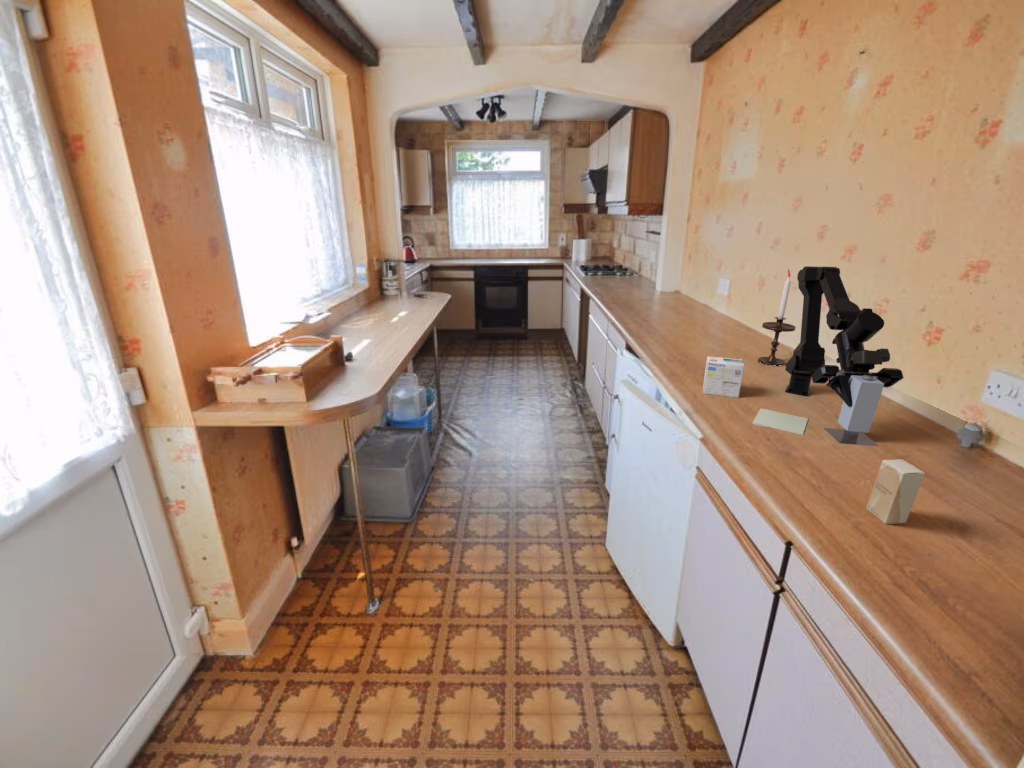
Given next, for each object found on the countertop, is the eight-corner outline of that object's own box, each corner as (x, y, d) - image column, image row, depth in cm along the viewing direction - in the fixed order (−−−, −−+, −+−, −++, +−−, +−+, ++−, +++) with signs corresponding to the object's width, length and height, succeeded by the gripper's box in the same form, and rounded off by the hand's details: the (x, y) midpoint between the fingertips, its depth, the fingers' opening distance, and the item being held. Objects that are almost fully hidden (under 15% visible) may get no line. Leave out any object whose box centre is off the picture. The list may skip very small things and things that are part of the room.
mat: (760, 410, 140) (760, 408, 140) (807, 420, 134) (808, 418, 134) (752, 424, 131) (752, 422, 131) (802, 436, 125) (803, 433, 124)
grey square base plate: (822, 429, 129) (826, 417, 128) (859, 431, 128) (863, 419, 126) (839, 444, 120) (842, 432, 119) (878, 447, 119) (882, 435, 118)
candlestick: (751, 362, 183) (770, 268, 171) (760, 356, 191) (778, 265, 179) (783, 368, 177) (804, 271, 165) (790, 362, 184) (811, 268, 172)
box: (864, 508, 95) (880, 458, 91) (885, 507, 95) (901, 457, 91) (886, 525, 90) (904, 473, 86) (908, 524, 90) (926, 472, 86)
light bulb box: (737, 391, 155) (743, 358, 151) (739, 398, 149) (745, 365, 145) (701, 386, 158) (706, 355, 154) (702, 393, 152) (707, 361, 148)
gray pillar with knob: (837, 422, 126) (852, 372, 120) (858, 423, 125) (873, 373, 120) (847, 430, 121) (862, 379, 116) (868, 432, 120) (885, 380, 115)
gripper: (827, 333, 120) (838, 391, 113) (910, 337, 117) (926, 396, 111) (807, 355, 130) (815, 409, 123) (883, 358, 127) (895, 414, 121)
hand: (862, 407), depth 119 cm, fingers closed on gray pillar with knob, 5 cm apart
